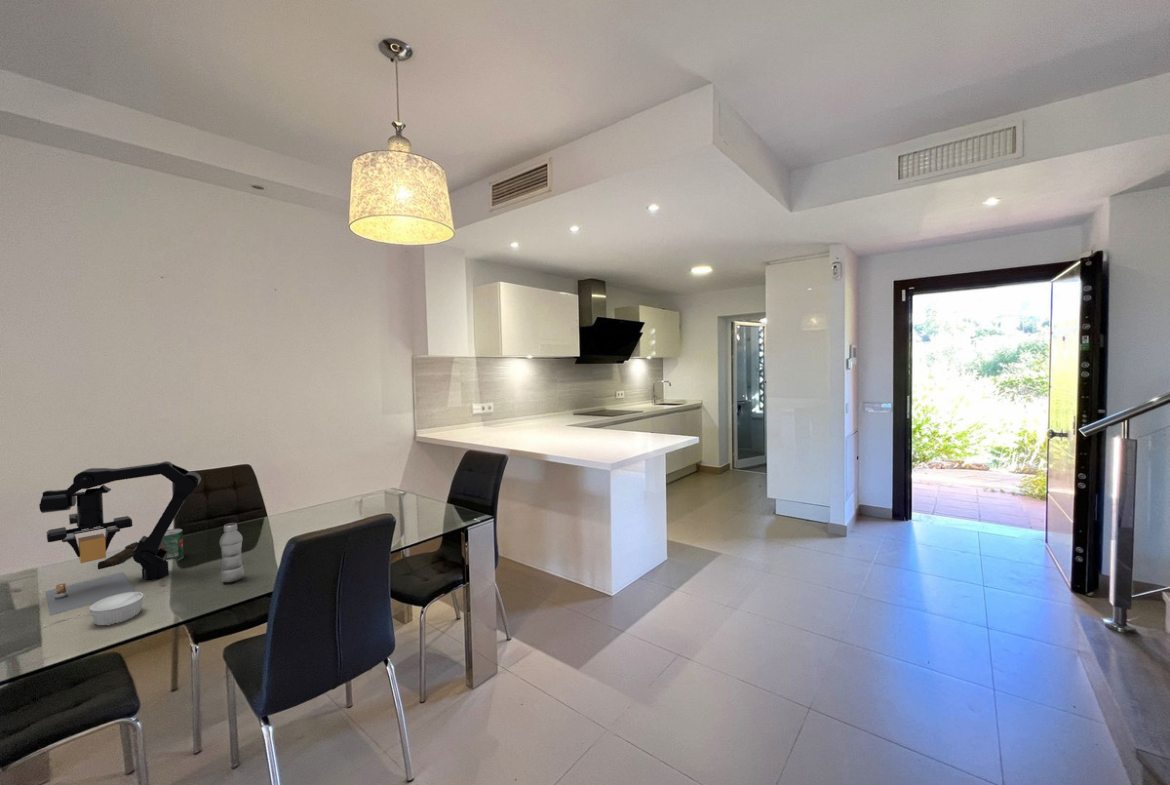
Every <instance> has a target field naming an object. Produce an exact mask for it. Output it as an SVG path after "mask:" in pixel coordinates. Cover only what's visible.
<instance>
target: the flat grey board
mask: <svg viewBox="0 0 1170 785" xmlns="http://www.w3.org/2000/svg"><path fill="white" fill-rule="evenodd" d="M66 590H68V596H67V597H65V598H62V599H55V593H56V588H54V589H50V590H46V591H45V592H44V593H45V597H46V601H47V606H48V612H49V615H50V616H55V615H58V614H61V613H65V612H69V611H72V610H75V609H80V608H83V607H87V606H89V605H90V606H91V605H93V604H94V603H96V602H98V601H100V600H102V599H105V598H107V597H110V596H114V595H118V594H122V593H128V592H137V591H136V590H135V588H134V586H133V585H132V582H130V580H129V578H128V577H127V576H126V574H125V572H124V571H121V572H116V573H113V574H110V575H109V574H108V575H105V576H101V577H97V578H93V579H90V580H85V581H82V582H78V583H73V584H70V585H69V584H68V585H66Z"/></svg>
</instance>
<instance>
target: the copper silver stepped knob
mask: <svg viewBox="0 0 1170 785" xmlns="http://www.w3.org/2000/svg"><path fill="white" fill-rule="evenodd" d="M66 586H67V584H66V583H59V584H57V585H56V586H55V589H56V593H55V599H62V598H65V597H67V596H68V590H66Z"/></svg>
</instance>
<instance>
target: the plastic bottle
mask: <svg viewBox="0 0 1170 785" xmlns="http://www.w3.org/2000/svg"><path fill="white" fill-rule="evenodd" d="M223 532H224V533H223V534H222V535H221V537H220V539H219V547H220V551H221V556H222V557H221V559H222V560H221V561H222V562H221V563H222V564H221V571H220V580H221V581H222V582H223V583H233V582H237V581H239V580H241V579H243V577H244V575H245V569H244V566H243V560H242V546H243V535H242V533H240V532H239V530H238V524H237V522H230V523H226V524H224V525H223Z"/></svg>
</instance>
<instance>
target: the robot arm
mask: <svg viewBox="0 0 1170 785" xmlns="http://www.w3.org/2000/svg"><path fill="white" fill-rule="evenodd" d="M158 475H161V476H163V477H165V478H166V479H168V480H169V481H170V482H172V483H174V484H176V485H175V487H174V491H173V495H172V498H171V499H170V501H169V502H168V505H167V506H166V508H165V509H164V511H163V513H162V514H161V516H160V518H159V519H158V520H157V523H156V524H155V526H154V528H153V529H152V531H151V532H150V533H149V535H148V536H146V535H143V536H142V537H141V538H140V539H139V541H138V545H137V547H136V548H135V549H134V551H133V552H132V553H134V552H135V553H134V555H133V556H132V559H133V561H135V562H136V563H137V564H139V565H140V566H141V568H142V569H141V578H142V579H143V580H144V581H155V580H161V579H163V578H165V577H168V576H169V573H170V572H169V561H167V560H165V559H166V558H167V556H168V553H169V552H168V551H166V550H164V549H162V548H161V545H162V542H163V539H164V535H165V533H166V531H167V530H169V527H170V526H171V525H172V524H173V521H174V520H175V518H176V516H177V515H178V513H179V511H180V509H181V507H182V505H183V504H184V503H185V502H186V501H185V500H187V499H188V497H189V496H190V495H191V494H192V492H194V490H195V489H196V488H197V487H198V485H199V484H200V483H201V480H202V476H201V474H200V473H198V472H196V471H189V470H187V469H186V468H182V467H181V466H178V465H176V464H174V463H172V462H171V461H162V462H157V463H156V462H155V463H150V464H149V463H148V464H140V465H134V466H126V467H119V468H108V467H107V468H105V467H101V468H100V467H93V468H92V467H91V468H87V469H85V470H83V471H81V472H78V473H77V474H75V476H74V477H73V482H72V484H71V485H70V486H69V487H67V488H66V489H56V490H52V489H50V490H45V491H43V492H42V496H41V498H40V502H39V505H38V506H39V511H40V512H41V513H42V514H46V513H54V512H62V511H63V512H64V511H70V510H71V508H72V507H75V506H76V513H70V514H69V515H68V520H69V521H68V522H69V523H68V524H69V525H75V524H76V526H77V527H74V528H69V529H67V528H66V526H64V527H63V526H62V527H58V528H51V529H48V530H47V531H46V541H47V543H54V542H59V541H61V542H62V543H68V544H69V545H70V547H71V548H72V549H73V551H74V553H75V555H76V556H77V557H78V558H79V557H80V552H79V546H78V541H77V540H78V539H77V537H76V535H78V534H82V533H89V532H94V531H98V530H105V533H104V536H105V544H106V552H107V551H108V548H109V546H110V544H111V542H112V540H113V538H114V536H115V535H116V533H118V532H121V529H126V528H131V527H133V519H132V518H131V517H130V516H129V515H124V516H120V517H114V518H113V521H108V522H104V504H103V503H104V502H103V501H104V500H103V494H107V493H109V492H110V491H112V488H110V487H108V486H106V484H110V483H112V482H116V481H122V480H128V479H129V480H130V479H138V478H144V477H151V476H158ZM81 490H85V491H81Z"/></svg>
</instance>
